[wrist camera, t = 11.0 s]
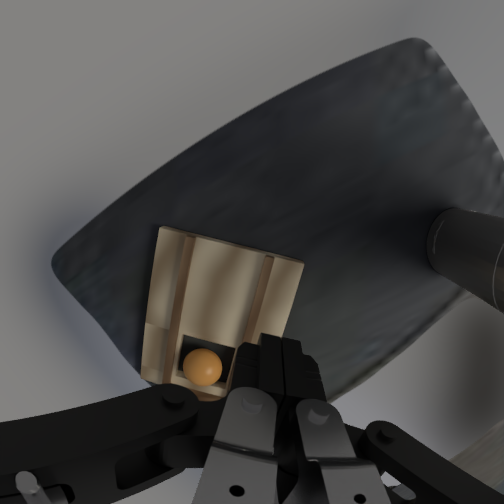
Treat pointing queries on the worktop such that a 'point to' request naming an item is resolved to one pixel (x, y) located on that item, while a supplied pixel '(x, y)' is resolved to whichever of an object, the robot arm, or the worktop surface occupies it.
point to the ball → (202, 367)
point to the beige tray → (211, 301)
